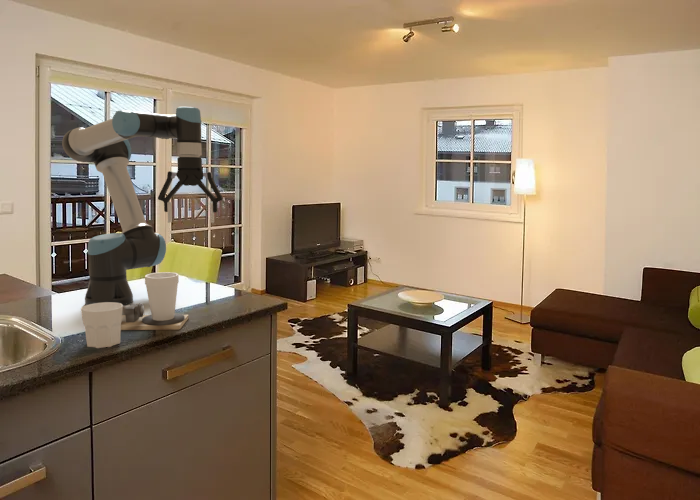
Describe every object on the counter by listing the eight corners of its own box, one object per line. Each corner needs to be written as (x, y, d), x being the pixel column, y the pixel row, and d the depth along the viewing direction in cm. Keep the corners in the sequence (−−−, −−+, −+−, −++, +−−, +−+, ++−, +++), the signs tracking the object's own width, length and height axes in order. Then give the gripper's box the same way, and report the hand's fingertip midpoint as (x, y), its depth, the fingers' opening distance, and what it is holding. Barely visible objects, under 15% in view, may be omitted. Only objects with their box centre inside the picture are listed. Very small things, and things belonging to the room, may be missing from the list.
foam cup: (169, 323, 158) (167, 279, 156) (140, 320, 160) (138, 277, 158) (185, 314, 167) (184, 273, 165) (157, 312, 169) (156, 271, 167)
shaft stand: (101, 330, 156) (100, 308, 155) (115, 318, 168) (114, 299, 167) (179, 329, 158) (179, 308, 157) (188, 318, 170) (187, 298, 169)
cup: (74, 346, 142) (71, 309, 140) (103, 335, 151) (102, 300, 150) (104, 351, 138) (102, 313, 137) (132, 340, 148) (131, 304, 146)
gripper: (230, 157, 180) (231, 221, 183) (153, 156, 178) (155, 221, 181) (227, 157, 173) (228, 223, 176) (146, 155, 171) (148, 223, 174)
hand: (191, 222), depth 178 cm, fingers open, 13 cm apart
